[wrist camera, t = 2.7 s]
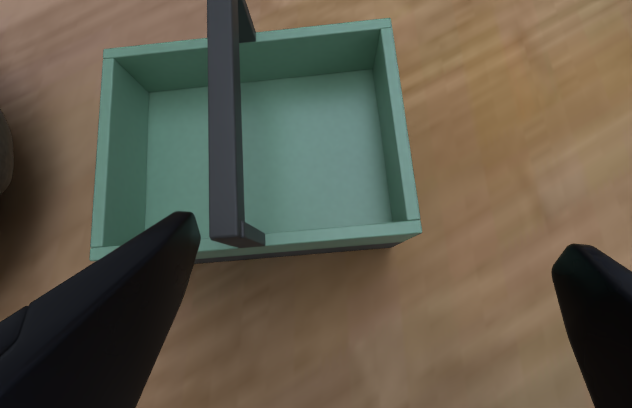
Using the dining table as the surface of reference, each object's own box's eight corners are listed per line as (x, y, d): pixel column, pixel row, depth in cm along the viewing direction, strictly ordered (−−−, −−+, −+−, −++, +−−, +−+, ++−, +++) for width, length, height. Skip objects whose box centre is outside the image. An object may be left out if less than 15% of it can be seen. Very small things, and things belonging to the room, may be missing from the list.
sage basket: (404, 241, 18) (455, 218, 10) (139, 263, 19) (3, 256, 11) (380, 65, 21) (407, -60, 13) (146, 90, 21) (37, -16, 13)
